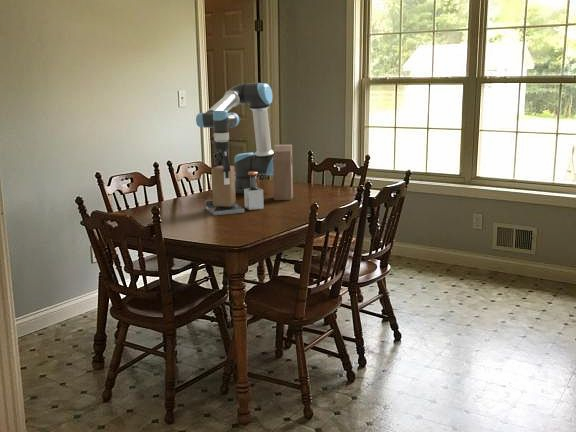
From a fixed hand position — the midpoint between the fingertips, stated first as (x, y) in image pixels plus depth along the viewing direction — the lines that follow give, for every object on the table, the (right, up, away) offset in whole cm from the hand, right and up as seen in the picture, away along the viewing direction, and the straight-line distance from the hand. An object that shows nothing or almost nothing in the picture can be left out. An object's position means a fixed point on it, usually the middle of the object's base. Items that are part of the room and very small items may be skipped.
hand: (223, 182), depth 327 cm
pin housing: (+15, -13, +8) cm, 22 cm away
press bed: (0, -14, +3) cm, 15 cm away
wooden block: (0, -12, +3) cm, 12 cm away
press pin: (+15, -5, +7) cm, 17 cm away
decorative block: (+31, -8, +33) cm, 45 cm away
